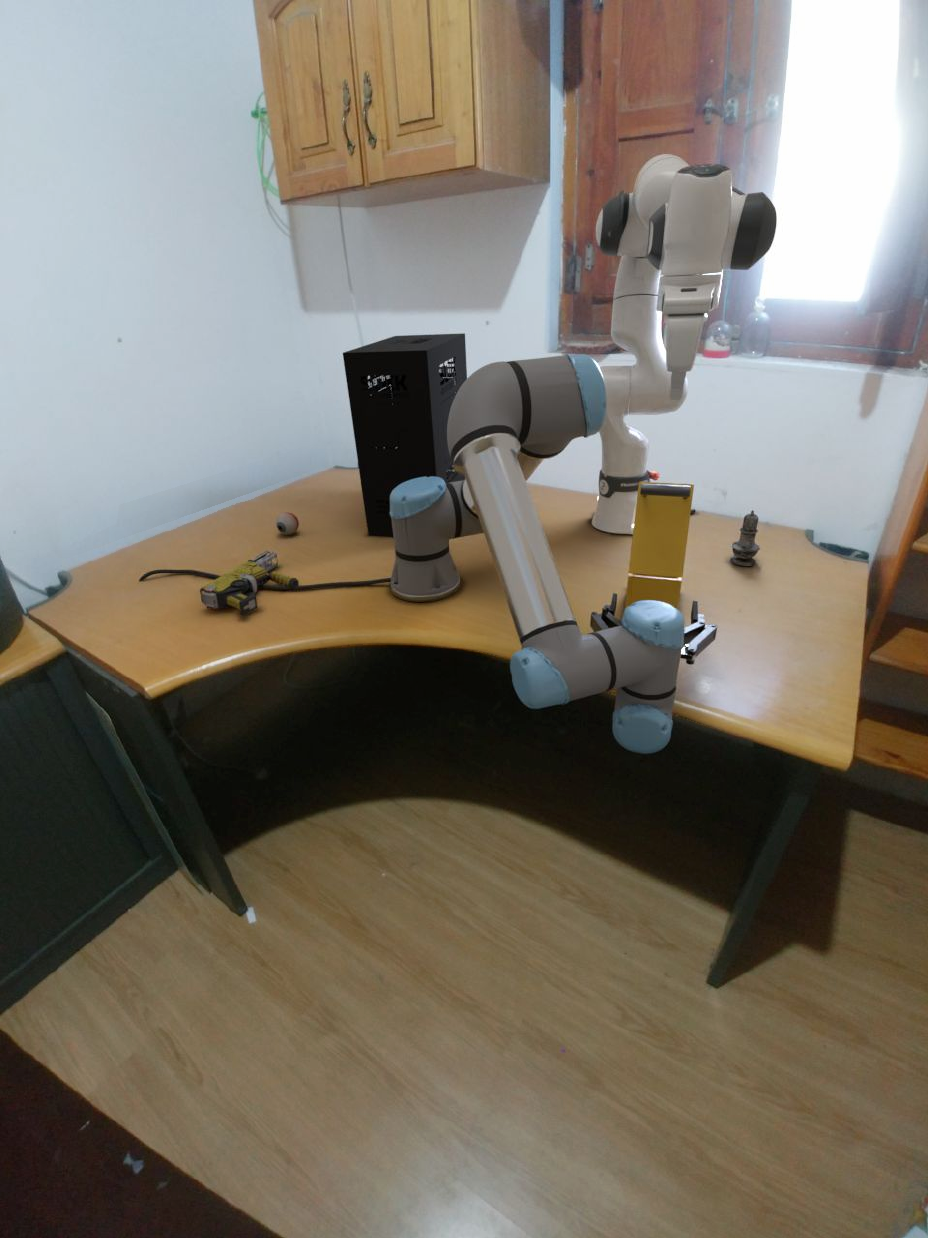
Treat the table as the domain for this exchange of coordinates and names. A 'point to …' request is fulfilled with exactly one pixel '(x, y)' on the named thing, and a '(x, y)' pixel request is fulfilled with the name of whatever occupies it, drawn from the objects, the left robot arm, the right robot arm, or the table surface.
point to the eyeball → (287, 523)
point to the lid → (661, 529)
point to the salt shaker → (746, 542)
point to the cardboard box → (402, 414)
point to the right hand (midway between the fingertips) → (676, 393)
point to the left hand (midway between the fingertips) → (653, 603)
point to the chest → (653, 589)
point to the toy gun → (243, 584)
